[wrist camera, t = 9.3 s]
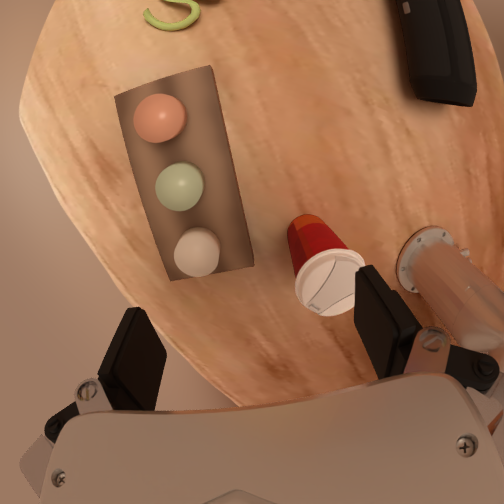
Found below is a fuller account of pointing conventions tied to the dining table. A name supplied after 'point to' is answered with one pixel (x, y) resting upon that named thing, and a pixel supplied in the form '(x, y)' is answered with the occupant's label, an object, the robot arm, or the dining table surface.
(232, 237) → the switch board
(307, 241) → the paper cup
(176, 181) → the sage button
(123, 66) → the dining table surface
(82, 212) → the dining table surface
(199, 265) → the cream button
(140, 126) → the terracotta button
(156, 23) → the figurine
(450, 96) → the portable speaker
